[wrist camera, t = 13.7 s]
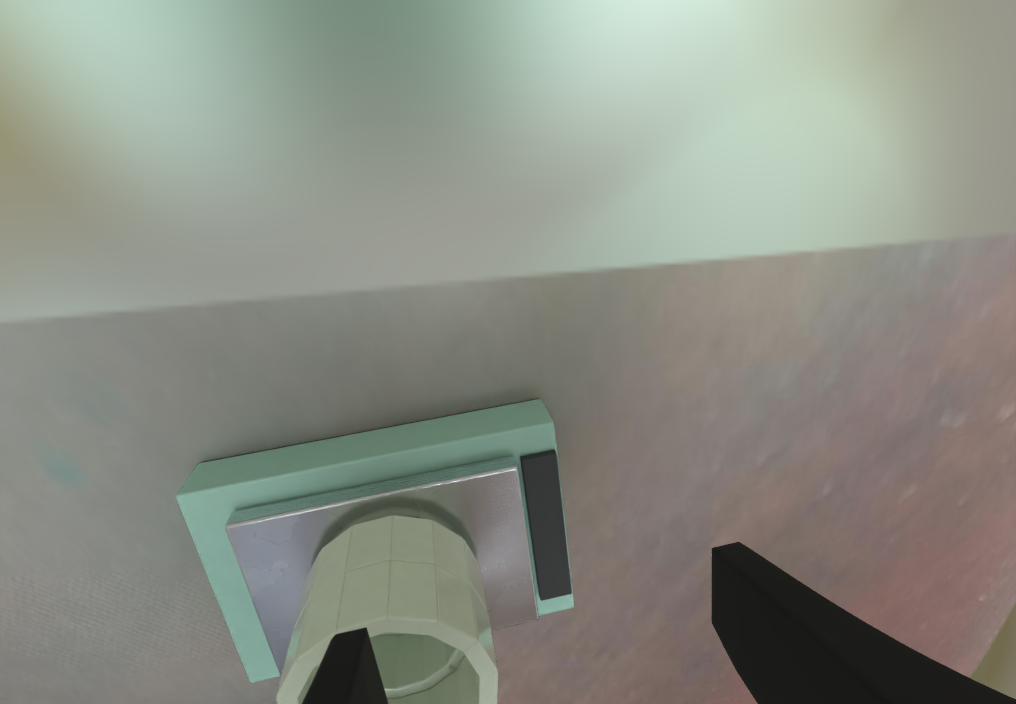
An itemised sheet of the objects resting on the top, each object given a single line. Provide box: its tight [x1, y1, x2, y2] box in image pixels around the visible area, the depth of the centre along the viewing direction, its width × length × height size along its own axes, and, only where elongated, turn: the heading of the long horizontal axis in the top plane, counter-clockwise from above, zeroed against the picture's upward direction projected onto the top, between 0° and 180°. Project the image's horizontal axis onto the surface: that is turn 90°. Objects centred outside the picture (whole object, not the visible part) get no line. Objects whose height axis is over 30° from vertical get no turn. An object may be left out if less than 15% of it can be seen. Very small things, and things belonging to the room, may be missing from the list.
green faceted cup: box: [276, 515, 498, 704], centre depth 16 cm, size 5×6×4 cm
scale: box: [176, 399, 574, 683], centre depth 20 cm, size 12×8×2 cm, turn 97°
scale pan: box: [225, 456, 539, 677], centre depth 18 cm, size 9×6×1 cm
